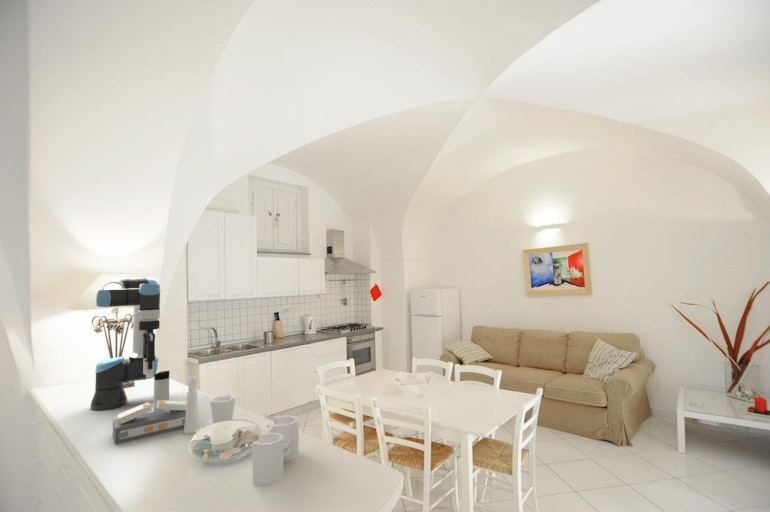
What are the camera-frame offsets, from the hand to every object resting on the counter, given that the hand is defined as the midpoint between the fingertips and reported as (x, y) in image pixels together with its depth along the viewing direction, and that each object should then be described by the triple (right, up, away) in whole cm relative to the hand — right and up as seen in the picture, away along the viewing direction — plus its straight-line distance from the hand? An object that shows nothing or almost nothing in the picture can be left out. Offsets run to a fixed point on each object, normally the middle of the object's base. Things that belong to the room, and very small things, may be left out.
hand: (148, 375), depth 159 cm
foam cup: (+32, -23, -2) cm, 39 cm away
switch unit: (+2, -23, 0) cm, 23 cm away
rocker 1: (-3, -15, -4) cm, 16 cm away
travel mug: (-6, -25, +19) cm, 32 cm away
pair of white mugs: (+63, -20, -32) cm, 74 cm away
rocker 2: (+7, -16, +4) cm, 18 cm away
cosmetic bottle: (+19, -23, -2) cm, 30 cm away
